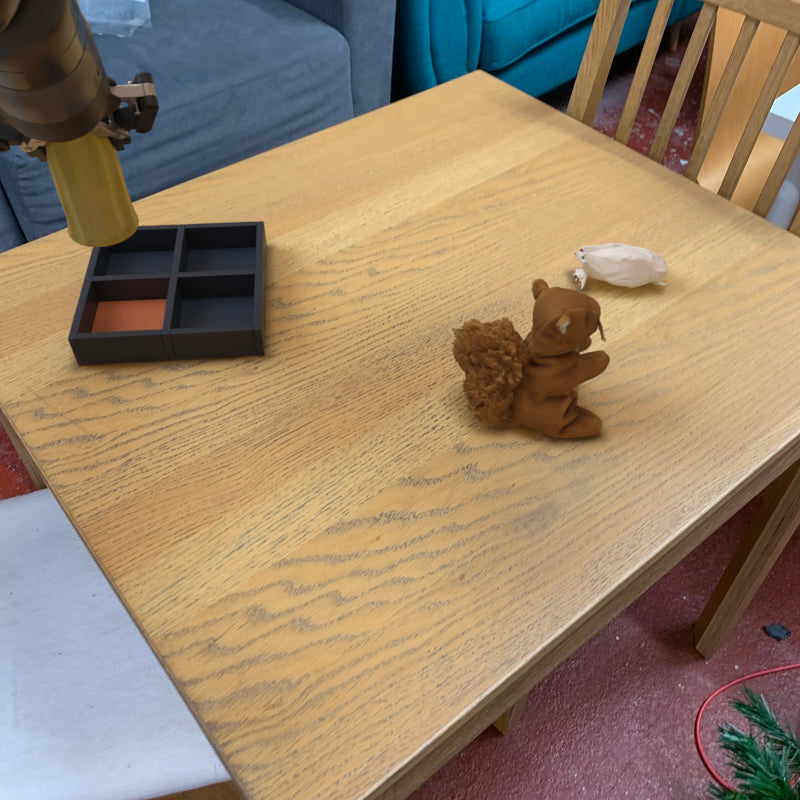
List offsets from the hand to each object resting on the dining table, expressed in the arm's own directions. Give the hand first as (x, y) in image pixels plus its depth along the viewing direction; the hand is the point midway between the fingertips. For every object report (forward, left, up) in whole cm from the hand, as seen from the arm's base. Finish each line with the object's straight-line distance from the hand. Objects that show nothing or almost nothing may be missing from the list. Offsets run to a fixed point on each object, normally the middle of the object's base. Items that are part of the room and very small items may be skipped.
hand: (80, 144), depth 64 cm
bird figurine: (+53, +4, -21) cm, 57 cm away
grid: (+4, +4, -21) cm, 22 cm away
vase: (0, -2, -7) cm, 8 cm away
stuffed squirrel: (+38, -14, -21) cm, 46 cm away
